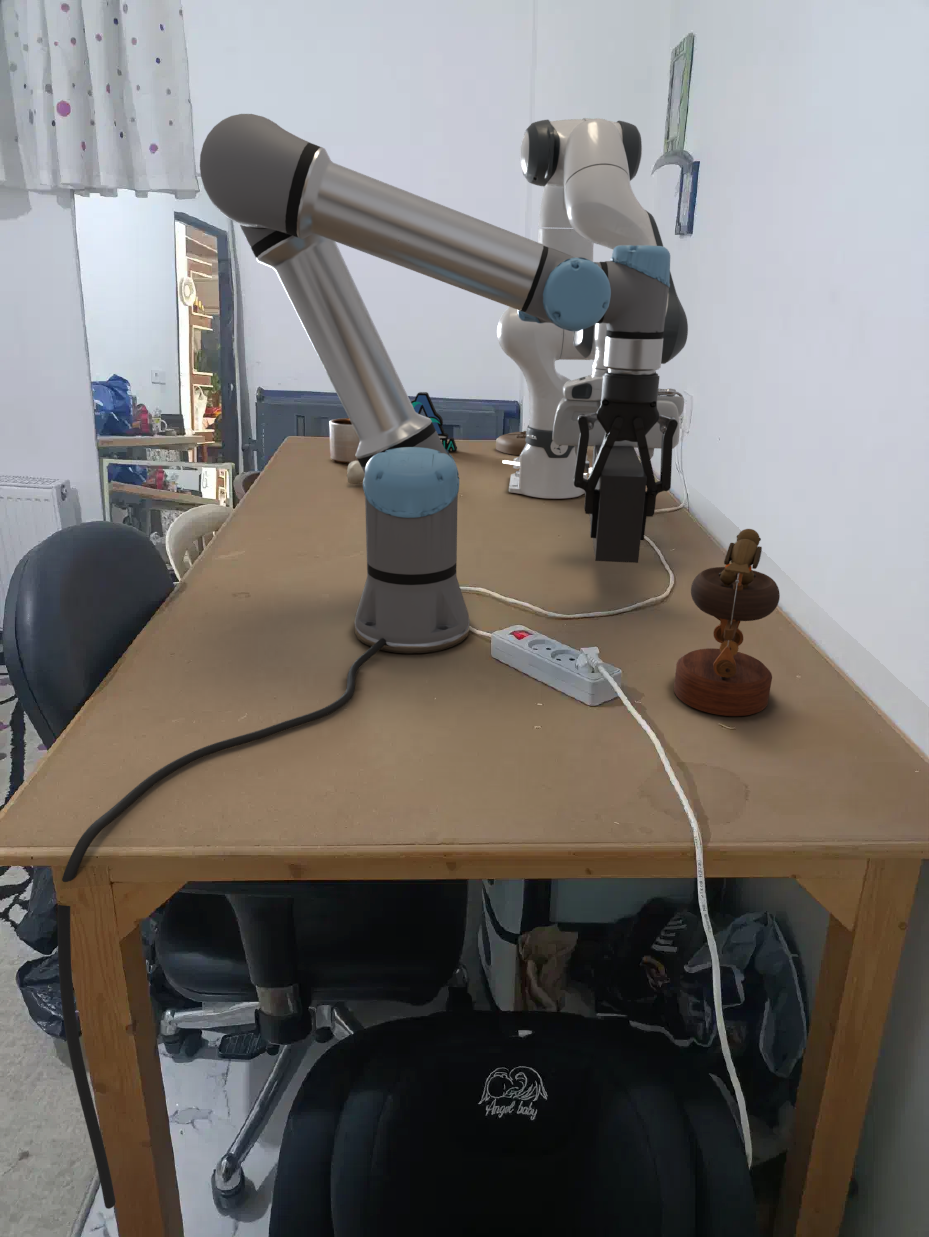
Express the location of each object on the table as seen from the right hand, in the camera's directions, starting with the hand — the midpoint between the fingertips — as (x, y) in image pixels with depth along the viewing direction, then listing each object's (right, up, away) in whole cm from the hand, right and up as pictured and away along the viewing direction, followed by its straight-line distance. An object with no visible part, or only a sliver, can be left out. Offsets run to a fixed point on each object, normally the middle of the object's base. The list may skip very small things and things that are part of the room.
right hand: (611, 473), depth 139 cm
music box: (+5, -32, -41) cm, 52 cm away
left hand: (-2, -12, -17) cm, 21 cm away
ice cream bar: (-5, +20, +85) cm, 88 cm away
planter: (-53, +16, +75) cm, 93 cm away
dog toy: (-41, +7, +52) cm, 67 cm away
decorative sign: (-36, +21, +88) cm, 98 cm away
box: (-1, -11, -6) cm, 13 cm away
